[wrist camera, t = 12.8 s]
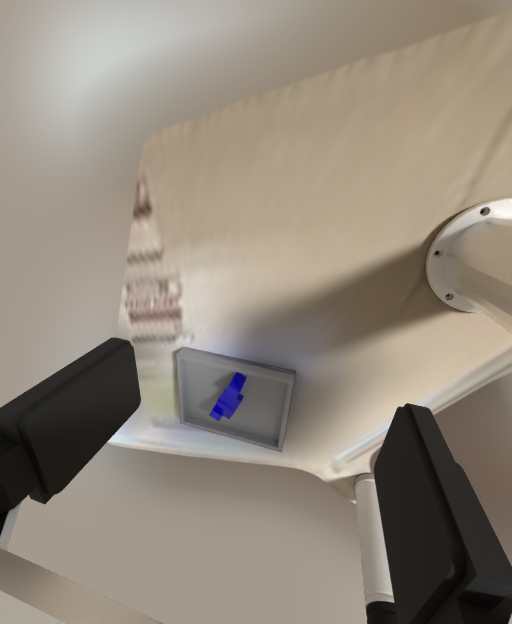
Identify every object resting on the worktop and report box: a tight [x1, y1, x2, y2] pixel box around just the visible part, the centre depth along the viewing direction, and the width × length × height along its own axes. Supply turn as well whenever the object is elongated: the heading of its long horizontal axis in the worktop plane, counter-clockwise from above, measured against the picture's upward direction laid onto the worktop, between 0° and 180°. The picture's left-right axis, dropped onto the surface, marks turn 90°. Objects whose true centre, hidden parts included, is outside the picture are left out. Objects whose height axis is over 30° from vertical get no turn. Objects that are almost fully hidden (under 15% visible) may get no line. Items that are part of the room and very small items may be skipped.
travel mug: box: [355, 473, 398, 624], centre depth 38 cm, size 6×7×20 cm
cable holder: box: [209, 372, 247, 421], centre depth 44 cm, size 8×4×4 cm, turn 150°
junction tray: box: [176, 347, 296, 452], centre depth 46 cm, size 20×16×2 cm
